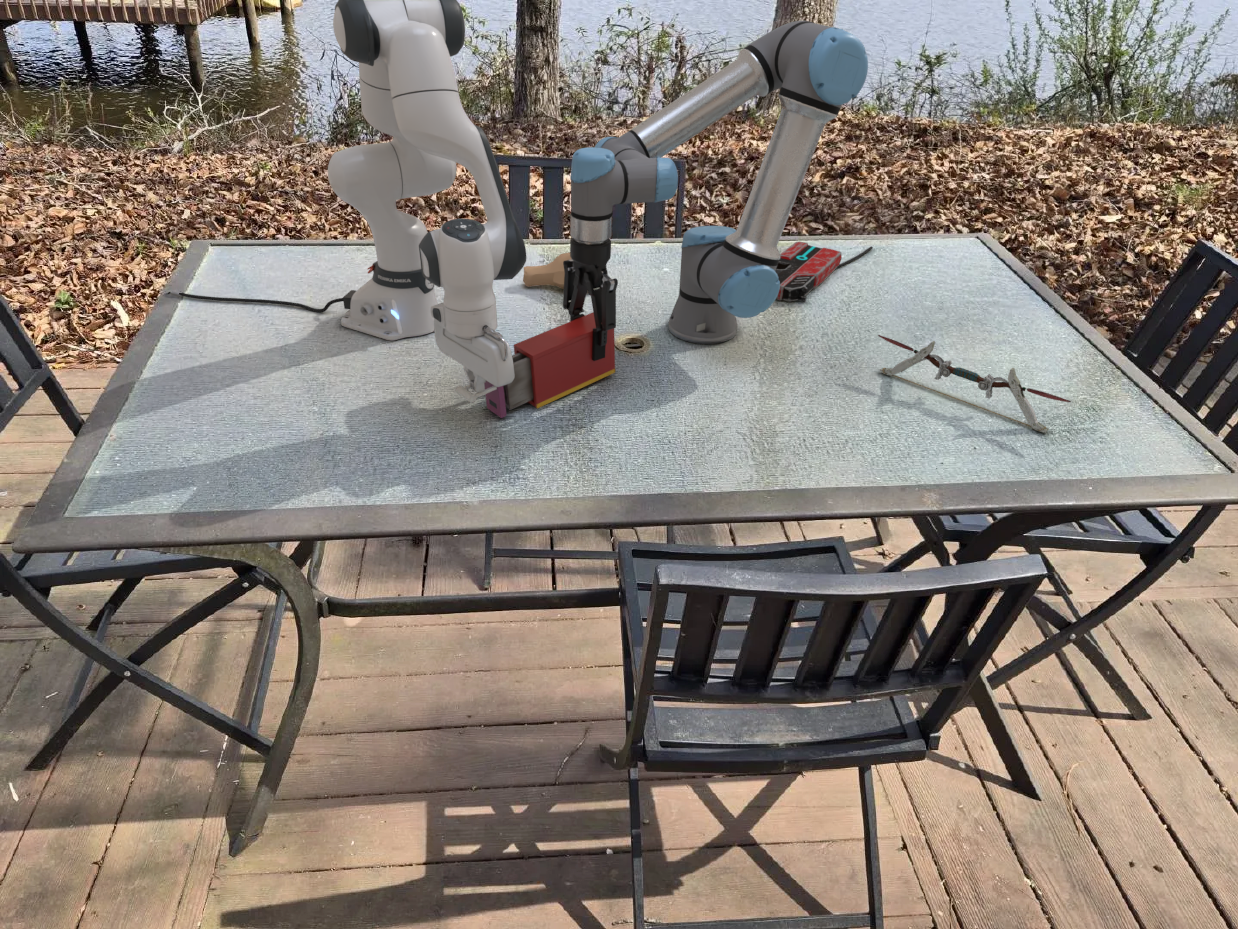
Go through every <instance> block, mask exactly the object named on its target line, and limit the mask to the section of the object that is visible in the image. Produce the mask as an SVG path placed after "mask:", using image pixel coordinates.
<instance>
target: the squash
mask: <svg viewBox="0 0 1238 929" xmlns="http://www.w3.org/2000/svg"><path fill="white" fill-rule="evenodd" d="M570 259H571V257H570V251H569V252H564V253H560V254H558V256H556V257H555V258H554V260H553V261H551V262H549V263H547V264H542V265H526V266H523V278H522V282H523V284H524V285H525V286H526V287H529V288H530V287H535V286H552V287H557V288H559V289H561V290H564V275H565V272H564V265H563V262H564V261H566V260H570Z"/></svg>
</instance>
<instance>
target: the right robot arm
mask: <svg viewBox="0 0 1238 929" xmlns="http://www.w3.org/2000/svg"><path fill="white" fill-rule="evenodd" d="M868 59H869V58H868V54H867V52H866V47H865V46H864V43H863V42H862V41H861V40H860V38H859V37H858V36H856V35H855V34H854V33H852V32H848V31H847V30H844V29H843V28H838V27H835V26H830V25H829V26H828V25H824V24H820V23H815V22H813V21H810V20H796V21H791V22H788V23H785V24H783V25H781V26H778V27H776V28H774V29H772V30H770V31H769V32H767V33H765V34H764V35H762V36H760V37H759V38H757V39H755V40H754V41H752V42H751V43H749V44H748V45H746V46H745V47H743V48H742V49H740V50H739V52H738V55H737V59H735V60H734V61H732V62H731V63H729V64H727V65H726V66H725V67H723V68H722V69H720V70H719V71H717V72H716V73H714V74H712V75H711V76H710V77H708V78H707V79H705V80H704V81H702V82H701V83H698V85H696V86H694V87H692V89H690V90H689V91H687V92H686V93H684V94H682V95H681V96H679V97H678V98H676V99H675V100H674V101H672V102H671V103H669V104H667V105H666V106H664V107H663V108H662V109H660V110H658V111H657V112H655V113H654V114H652V115H651V116H650V117H648V118H646V119H645V120H643V121H642V122H641V123H639V124H637V125H636V126H634V127H633V128H631V129H630V130H628V131H627V132H625V133H623V134H622V135H620V136H619V137H618V136H617V137H616V136H606V137H603V138H601V139H600V140H599V141H597V143H596V144H595V146H593V147H592V146H591V147H582V148H578V149H577V150H576V151H575V152H574V153H573V155H572V158H571V165H570V167H571V168H570V175H569V177H570V178H569V179H570V220H569V221H570V222H569V224H570V225H569V235H570V237H571V238H570V240H569V241H570V242H569V252H570V257H571V259H570V260H566V261H564V262H563V265H564V272H565V275H564V289H563V296H562V308H563V309H564V310H567V311H568V312H567V313H568V315H569V322H570V321H573V320H575V319H578V318H580V317H583V316H585V315H586V314H584V312H585V311H586V310H585V309H584V305H585V301H586V297H587V294H588V295H589V296H590V300H591V301H590V302H591V306H592V312H593V313H594V319H595V325H596V328H594V329H593V342H592V360H593V361H596V360H599V359H602V358H605V349H606V344H607V333H608V330H610V329H613V328H614V329H616V327H617V289H618V284H619V280H618V279H617V278H611V277H610V276H609V274H608V269H607V264H608V262H609V261H610V260H611V256H612V240H611V239H610V238H612V230H613V229H612V227H613V214H614V213H613V210H614V208H613V207H614V206H615V205H628V204H644V203H654V204H655V203H658V202H664V201H668V200H671V199H673V198H674V197H675V195H676V193H677V190H678V187H679V186H678V185H679V172H678V168H677V166H676V163H675V162H674V161H673V159H671V158H669V157H665V156H666V155H668V154H670V153H671V152H672V151H674V150H675V149H677V148H678V147H681V145H683V144H685V143H686V142H687V141H689V140H690V139H692V138H694V137H695V136H696V135H698V134H700V133H701V132H703V131H704V130H706V129H707V128H709V127H710V126H712V125H713V124H715V123H716V122H718V121H720V120H721V119H722V118H724V117H725V116H727V115H728V114H730V113H731V112H733V111H735V110H736V109H739V107H741V106H742V105H744V104H745V103H747V102H748V101H750V100H751V99H753V98H755V97H756V96H758V97H762V98H764V97H767V95H769V94H771V93H772V92H774V91H776V90H779V89H780V90H779V92H778V99H779V102H780V104H781V110H780V113H779V116H778V119H777V120H776V124H775V126H774V129H773V131H772V135H771V138H770V140H769V142H768V145H767V148H766V149H765V150H766V151H765V154H764V155H763V158H762V161H761V164H760V167H759V170H758V172H757V174H756V177H755V180H754V183H753V185H752V188H751V191H750V193H749V196H748V198H747V201H746V204H745V206H744V209H743V212H742V214H741V217H740V219H739V223H738V225H737V228H736V229H735V228H733V227H731V226H726V225H725V226H723V225H701V226H700V225H699V226H695V227H691V228H690V229H687V230H686V231H685V232H684V233H683V236H682V241H681V245H680V246H681V247H680V248H681V255H680V273H679V287H678V288H679V289H678V297H677V298H676V302H675V304H674V306H673V309H672V312H671V313H670V316H669V319H668V331H669V332H670V334H671V335H672V336H673V337H676V339H677V338H678V339H679V340H682V341H685V342H689V343H693V344H701V345H713V344H720V343H725V342H727V341H730V340H731V339H733V338H734V337H736V335H737V333H738V320H737V318H741V319H751V318H755V317H757V316H758V315H760V314H761V313H764V312H766V311H767V310H768V309H769V308H770V307H771V306H772V305H773V304H774V302H775V301H776V300H777V295H778V293H779V289H780V281H779V280H778V275H777V273H776V272H775V270H776V268H777V265H778V263H779V260H780V257H781V256H780V254H781V253H780V252H779V249H778V244H779V242H780V239H781V237H782V234H783V232H784V229H785V226H786V224H787V222H788V220H789V216H790V214H791V212H792V209H793V207H794V204H795V203H796V202H795V201H796V199H797V196H798V194H799V193H800V192H799V191H800V190H801V186H802V184H803V182H804V179H805V177H806V174H807V172H808V169H809V167H810V165H811V162H812V159H813V156H814V154H815V152H816V149H817V147H818V144H819V141H820V139H821V136H822V134H823V131H824V129H825V127H826V124H827V123H829V122H831V121H832V120H834V119H836V118H837V117H839V116H838V115H839V113H840V111H841V108H842V106H843V105H845V104H847V103H849V102H851V101H852V99H853V98H856V97H857V96H858V95H859V93H860V92H861V90H862V89H863V87H864V85H865V82H866V80H867V77H868V70H869V60H868ZM872 249H873V246H869V247H868V248H866V249H865V250H863V251H862V252H861V253H859V254H858V255H856V256H854V257H852V258H850V259H848V260H846V261H844V262H840V264H839V266H838V267H837V268H836V269H835V270H837V269H839V268H841V267H843V266H845V265H849V264H850V263H852V262H854V261H856V260H857V259H859V258H861V257H863V256H864V255H866V254H868V252H870V251H871V250H872ZM601 323H602V324H601Z"/></svg>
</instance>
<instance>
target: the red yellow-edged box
mask: <svg viewBox="0 0 1238 929" xmlns="http://www.w3.org/2000/svg"><path fill="white" fill-rule="evenodd" d="M584 315H585V316H583V317H580V318H578V319H575V320H573V321H570V320H569V321H568V322H565V323H564V324H560V325H558V326H555V327H553V328H550V329H549V330H546V331H544V332H541V333H539V334H535V335H534V336H532V337H529V338H526V339H523V340H522V341H519V342H517V343H514V344H513V353H514V354H513V355H515V354H517V353H519V352H520V353H522V354H524V355H525V356H527V357H529V358H530V361H531V373H532V384H533V395H534V399H533V400H531V401H529V402H527V403H528V404H530V405H531V406H532V407H534V408H536V409H539V408H542V407H544V406H546V405H548V404H550V403H552V402H554V401H557V400H559V399H561V398H563V397H565V396H568V395H570V394H572V393H574V392H576V391H578V390H581V389H582V388H585V387H587V386H589V385H591V384H593V383H595V382H598V381H600V380H602V379H604V378H606V377H608V376H611V375H613V374H615V373H616V350H615V347H616V346H615V328H613V329H610V330H608V333H607V344H606V349H605V358H602V359H599V360H596V361H593V360H592V342H593V329H594V328H596V325H595V319H594V313H593V311H592V312H590V313H587V314H584ZM601 324H602V323H601Z"/></svg>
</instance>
